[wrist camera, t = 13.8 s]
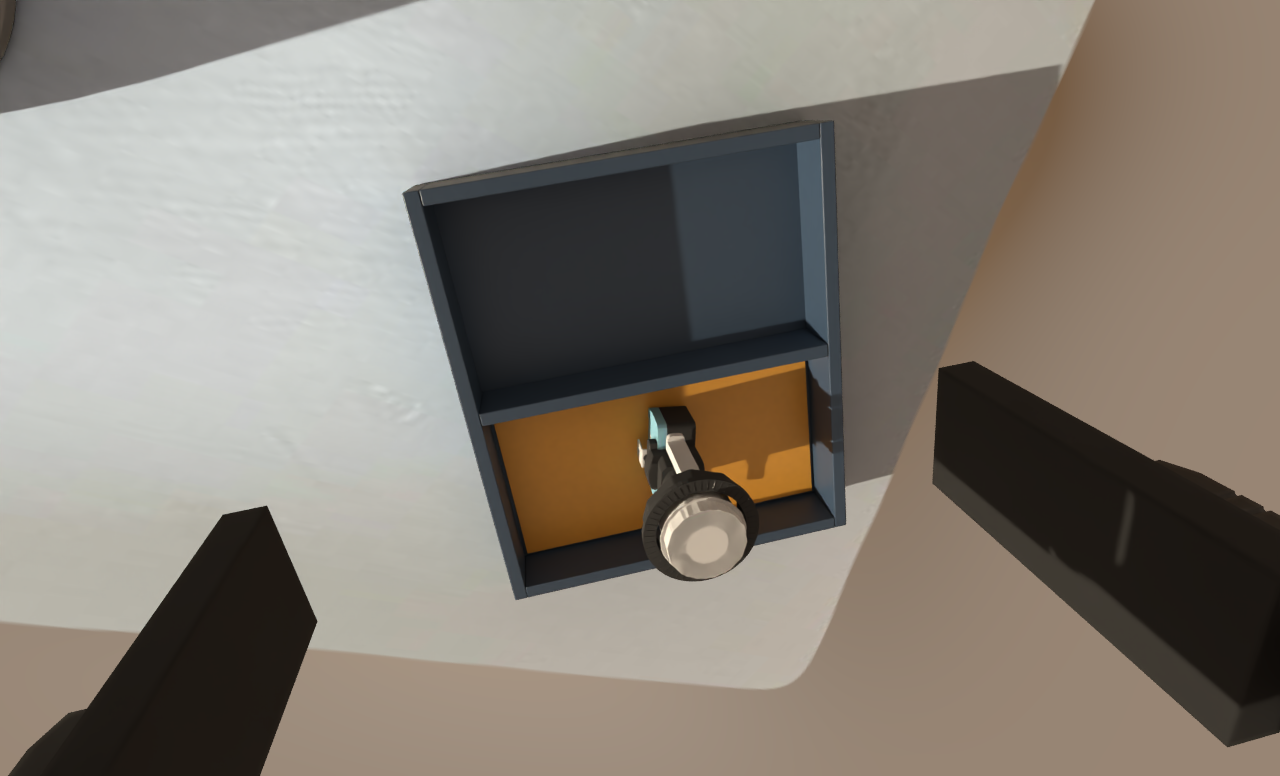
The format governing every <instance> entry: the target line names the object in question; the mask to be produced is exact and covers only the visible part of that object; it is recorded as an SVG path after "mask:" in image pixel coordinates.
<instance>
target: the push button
mask: <svg viewBox="0 0 1280 776" xmlns="http://www.w3.org/2000/svg"><path fill="white" fill-rule="evenodd" d="M648 418H649V428H648V439H647V449H642V445H641V443H640V440H639V439H638V440H637V455H638V459H639V462H640V464H641V467H644V471H645V475H646V478H647V481H648V484H649V486H650V488H651V491H652V494H653V495H652V496H651V497H650V498H649V499H648V500H647V502H646V506H645V510H644V514H643V525H642V541H643V545H644V549H645V552H646V554H647V557H648V558H649V560H650V562H651V563H652V564H653V565H654V566H655V567H656V568H657V569H658V570H659V571H660V572H662V573H663V574H665V575H667V576H669V577H671V578H674V579H678V580H682V581H703V580H708V579H712V578H715V577H718V576H720V575H723V574H725V573H727V572H728V571H730V570H732V569H733V568H734V567H736V566H737V565H738V564H739V563H740V562H742V561H743V560H744V558H745V557H746V556H747V555H748V554H749V552H750V551H751V549H752V548H753V546H754V544H755V541H756V539H757V536H758V531H759V515H758V511H757V508H756V506H755V504H754V502H753V500H752V499H751V497H750V496H749V494H748V493H747V492H746V491H745V490H744V489H743V488H742V487H741V486H740V485H738V484H737V483H735V482H734V481H732V480H731V479H730V478H729V477H727V476H726V475H725V474H723V473H719V472H711V471H705V467H704V463H703V460H702V458H701V456H700V454H699V452H698V451H697V449H696V447H695V440H696V424H695V421H694V419H693V417H692V416H691V414H690V412H689V411H688V409H687V407H686V406H673V407H655V408H649V409H648ZM728 496H729V497H731V498H733V499H734V500H735V501H736V502H737V508H736V507H735V506H734V505H733V504H732V503H731V501H730V499H729V498H728ZM658 524H659V527H660V531H661V535H660V541H659V540H658V539H657V537H656V532H657V527H658Z"/></svg>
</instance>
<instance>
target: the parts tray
mask: <svg viewBox="0 0 1280 776" xmlns="http://www.w3.org/2000/svg"><path fill="white" fill-rule="evenodd" d="M402 195H403V199H404V202H405V206H406V210H407V213H408V217H409V220H410V224H411V227H412V231H413V235H414V238H415V242H416V245H417V249H418V253H419V256H420V260H421V263H422V267H423V270H424V274H425V278H426V281H427V285H428V288H429V292H430V296H431V299H432V303H433V306H434V310H435V313H436V317H437V321H438V324H439V328H440V331H441V335H442V339H443V342H444V346H445V349H446V353H447V357H448V360H449V364H450V367H451V371H452V374H453V378H454V382H455V385H456V389H457V392H458V396H459V400H460V403H461V407H462V410H463V414H464V417H465V421H466V425H467V428H468V432H469V435H470V439H471V443H472V446H473V450H474V453H475V457H476V460H477V464H478V468H479V471H480V475H481V478H482V482H483V486H484V489H485V493H486V496H487V500H488V503H489V507H490V511H491V514H492V518H493V521H494V525H495V529H496V532H497V536H498V539H499V543H500V546H501V550H502V554H503V557H504V561H505V564H506V568H507V572H508V575H509V579H510V582H511V586H512V590H513V593H514V597H515V600H519V599H523V598H527V597H532V596H536V595H540V594H545V593H549V592H553V591H558V590H562V589H567V588H571V587H575V586H580V585H584V584H588V583H593V582H597V581H602V580H606V579H610V578H615V577H619V576H624V575H628V574H632V573H637V572H641V571H645V570H650V569H654V568H656V567H655V566H654V565H653V564H652V563H651V562H650V560H649V558H648V557H647V554H646V552H645V549H644V545H643V541H642V525H643V514H644V510H645V506H646V502H647V500H648V499H649V498H650V497H651V496H652V495H653V494H652V491H651V488H650V486H649V484H648V481H647V478H646V475H645V471H644V467H641V464H640V462H639V459H638V455H637V440H638V439H639V440H640V443H641V445H642V449H647V439H648V428H649V418H648V409H649V408H655V407H673V406H686V407H687V409H688V411H689V412H690V414H691V416H692V417H693V419H694V421H695V424H696V440H695V447H696V449H697V451H698V452H699V454H700V456H701V458H702V460H703V463H704V467H705V471H711V472H719V473H723V474H725V475H726V476H727V477H729V478H730V479H731V480H732V481H734V482H735V483H737V484H738V485H740V486H741V487H742V488H743V489H744V490H745V491H746V492H747V493H748V494H749V496H750V497H751V499H752V500H753V502H754V504H755V506H756V508H757V511H758V515H759V531H758V536H757V539H756V541H755V544H754V546H755V545H759V544H764V543H768V542H773V541H777V540H781V539H786V538H790V537H794V536H799V535H803V534H808V533H812V532H816V531H821V530H825V529H830V528H834V527H838V526H842V525H846V503H845V469H844V436H843V403H842V369H841V336H840V303H839V269H838V236H837V203H836V169H835V136H834V121H832V120H802V121H796V122H790V123H785V124H779V125H773V126H767V127H761V128H755V129H749V130H743V131H737V132H731V133H725V134H719V135H713V136H707V137H701V138H695V139H689V140H683V141H677V142H671V143H665V144H659V145H653V146H647V147H641V148H635V149H629V150H623V151H617V152H611V153H605V154H599V155H593V156H587V157H581V158H575V159H569V160H563V161H557V162H551V163H545V164H539V165H533V166H527V167H521V168H515V169H509V170H503V171H497V172H491V173H485V174H479V175H473V176H467V177H461V178H456V179H450V180H444V181H438V182H432V183H426V184H420V185H415V186H413V187H411V188H410V189H408V190H407V191H405V192H403V193H402ZM728 498H729V499H730V501H731V503H732V504H733V505H734V506H735V507H736V508H737V502H736V501H735V500H734V499H733V498H731V497H729V496H728ZM660 535H661V531H660V527H659V524H658V527H657V532H656V537H657V539H658V540H659V541H660Z"/></svg>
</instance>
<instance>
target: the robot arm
mask: <svg viewBox="0 0 1280 776" xmlns="http://www.w3.org/2000/svg"><path fill="white" fill-rule="evenodd" d="M15 7H16V0H0V61H1V59H2V57H3V55H4V53H5V50H6V48H7V45H8V42H9V39H10V36H11V32H12V27H13V23H14V17H15ZM935 429H936V430H935V446H934V465H933V484H934V485H935V486H936V487H937V488H938V489H939V490H941V491H942V492H943V493H944V494H945V495H946V496H947V497H948V498H950V499H951V500H952V501H953V502H954V503H955V504H956V505H957V506H958V507H960V508H961V509H962V510H963V511H964V512H965V513H966V514H967V515H968V516H970V517H971V518H972V519H973V520H974V521H975V522H976V523H978V524H979V525H980V526H981V527H982V528H983V529H984V530H985V531H986V532H987V533H989V534H990V535H991V536H992V537H993V538H994V539H995V540H996V541H998V542H999V543H1000V544H1001V545H1002V546H1003V547H1004V548H1005V549H1007V550H1008V551H1009V552H1010V553H1011V554H1012V555H1013V556H1014V557H1015V558H1017V559H1018V560H1019V561H1020V562H1021V563H1022V564H1023V565H1024V566H1025V567H1027V568H1028V569H1029V570H1030V571H1031V572H1032V573H1033V574H1034V575H1036V576H1037V577H1038V578H1039V579H1040V580H1041V581H1042V582H1043V583H1045V584H1046V585H1047V586H1048V587H1049V588H1050V589H1051V590H1053V592H1055V593H1056V594H1057V595H1058V596H1059V597H1060V598H1061V599H1062V600H1063V601H1065V602H1066V603H1067V604H1068V605H1069V606H1070V607H1071V608H1073V609H1074V610H1075V611H1076V612H1077V613H1078V614H1079V615H1080V616H1081V617H1082V618H1084V619H1085V620H1086V621H1087V622H1088V623H1089V624H1090V625H1091V626H1093V627H1094V628H1095V629H1096V630H1097V631H1098V632H1099V633H1100V634H1102V635H1103V636H1104V637H1105V638H1106V639H1107V640H1108V641H1109V642H1111V643H1112V644H1113V645H1114V646H1115V647H1116V648H1117V649H1118V650H1120V651H1121V652H1122V653H1123V654H1124V655H1125V656H1126V657H1127V658H1128V659H1129V660H1131V661H1132V662H1133V663H1134V664H1135V665H1136V666H1137V667H1138V668H1139V669H1141V670H1142V671H1143V672H1144V673H1145V674H1146V675H1147V676H1148V677H1150V678H1151V679H1152V680H1153V681H1154V682H1155V683H1156V684H1157V685H1158V686H1160V687H1161V688H1162V689H1163V690H1164V691H1165V692H1166V693H1167V694H1169V695H1170V696H1171V697H1172V698H1173V699H1174V700H1175V701H1176V702H1178V703H1179V704H1180V705H1181V706H1182V707H1183V708H1184V709H1185V710H1186V711H1188V712H1189V713H1190V714H1191V715H1192V716H1193V717H1194V718H1195V719H1197V720H1198V721H1199V722H1200V723H1201V724H1202V725H1203V726H1204V727H1205V728H1207V729H1208V730H1209V731H1210V732H1211V733H1212V734H1213V735H1214V736H1216V737H1217V738H1218V739H1219V740H1220V741H1221V742H1222V743H1223V744H1224V745H1226V746H1227V747H1230V746H1234V745H1237V744H1241V743H1244V742H1247V741H1251V740H1255V739H1258V738H1262V737H1265V736H1268V735H1272V734H1276V733H1279V732H1280V515H1278V514H1276V513H1274V512H1273V511H1267V512H1266V511H1265V510H1264V508H1263V506H1261V505H1259V504H1258V503H1256V502H1254V501H1252V500H1250V499H1248V498H1246V497H1244V496H1243V495H1240V496H1237V495H1236V494H1235V491H1233V490H1231V489H1229V488H1227V487H1226V486H1223V485H1222V484H1220V483H1218V482H1216V481H1214V480H1212V479H1210V478H1208V477H1207V476H1205V475H1203V474H1201V473H1199V472H1195V471H1192V470H1189V469H1186V468H1183V467H1180V466H1177V465H1174V464H1171V463H1168V462H1165V461H1161V460H1158V461H1154V460H1152V459H1150V458H1148V457H1146V456H1145V455H1142V454H1141V453H1139V452H1137V451H1135V450H1134V449H1132V448H1130V447H1128V446H1126V445H1124V444H1123V443H1121V442H1119V441H1117V440H1115V439H1114V438H1112V437H1110V436H1108V435H1107V434H1105V433H1103V432H1101V431H1099V430H1097V429H1096V428H1094V427H1092V426H1090V425H1088V424H1087V423H1085V422H1083V421H1081V420H1079V419H1078V418H1076V417H1074V416H1072V415H1070V414H1068V413H1066V412H1065V411H1063V410H1061V409H1059V408H1058V407H1056V406H1054V405H1052V404H1050V403H1049V402H1047V401H1045V400H1043V399H1041V398H1039V397H1038V396H1036V395H1034V394H1032V393H1030V392H1029V391H1027V390H1025V389H1023V388H1021V387H1020V386H1018V385H1016V384H1014V383H1012V382H1010V381H1009V380H1007V379H1005V378H1003V377H1001V376H1000V375H998V374H996V373H994V372H992V371H991V370H989V369H987V368H985V367H983V366H981V365H979V364H978V363H976V362H974V361H972V362H967V363H962V364H957V365H952V366H947V367H943V368H939V373H938V392H937V411H936V428H935ZM316 624H317V619H316V617H315V615H314V612H313V610H312V608H311V606H310V603H309V601H308V599H307V596H306V594H305V592H304V590H303V587H302V585H301V583H300V580H299V578H298V576H297V573H296V571H295V569H294V567H293V564H292V562H291V560H290V557H289V555H288V553H287V550H286V548H285V546H284V544H283V541H282V539H281V537H280V534H279V532H278V530H277V527H276V525H275V523H274V521H273V518H272V516H271V514H270V511H269V509H268V507H267V506H263V507H258V508H253V509H249V510H244V511H239V512H234V513H229V514H224V515H222V517H221V518H220V520H219V521H218V522H217V524H216V525H215V527H214V528H213V530H212V531H211V532H210V534H209V535H208V537H207V538H206V540H205V541H204V542H203V544H202V545H201V547H200V548H199V550H198V551H197V552H196V554H195V555H194V557H193V558H192V560H191V561H190V562H189V564H188V565H187V567H186V568H185V570H184V571H183V572H182V574H181V575H180V577H179V578H178V580H177V581H176V582H175V584H174V585H173V587H172V588H171V590H170V591H169V592H168V594H167V595H166V597H165V598H164V600H163V601H162V602H161V604H160V605H159V607H158V608H157V610H156V611H155V612H154V614H153V615H152V617H151V618H150V620H149V621H148V622H147V624H146V625H145V627H144V628H143V630H142V631H141V632H140V634H139V635H138V637H137V638H136V640H135V641H134V643H133V644H132V645H131V647H130V648H129V650H128V651H127V652H126V654H125V655H124V657H123V658H122V660H121V661H120V662H119V664H118V665H117V667H116V668H115V670H114V671H113V672H112V674H111V675H110V677H109V678H108V680H107V681H106V682H105V684H104V685H103V687H102V688H101V690H100V691H99V692H98V694H97V695H96V697H95V698H94V700H93V701H92V702H91V704H90V705H89V707H88V708H87V709H84V710H80V711H75V712H71V713H68V714H67V715H66V716H65V717H63V718H62V719H61V720H60V721H59V722H58V723H57V724H56V725H55V726H53V727H52V728H51V729H50V730H49V731H48V732H47V733H46V734H45V735H44V736H42V737H41V738H40V739H39V740H38V741H37V742H36V743H35V744H33V746H31V747H30V748H29V749H28V750H27V751H26V753H25V754H24V755H23V757H22V758H21V759H20V761H19V762H18V763H17V765H16V766H15V767H14V769H13V770H12V771H11V773H10V774H9V775H8V776H260V774H261V771H262V769H263V766H264V763H265V761H266V758H267V755H268V753H269V750H270V747H271V745H272V742H273V739H274V736H275V734H276V731H277V729H278V726H279V723H280V720H281V718H282V715H283V712H284V710H285V707H286V704H287V702H288V699H289V696H290V694H291V691H292V688H293V686H294V683H295V680H296V678H297V675H298V672H299V669H300V666H301V664H302V661H303V659H304V656H305V653H306V651H307V648H308V645H309V643H310V640H311V637H312V635H313V632H314V629H315V627H316Z"/></svg>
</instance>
